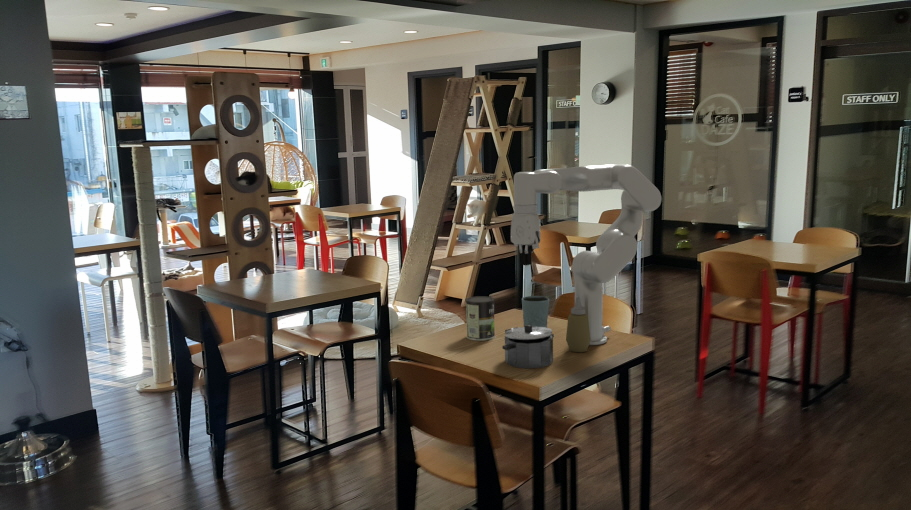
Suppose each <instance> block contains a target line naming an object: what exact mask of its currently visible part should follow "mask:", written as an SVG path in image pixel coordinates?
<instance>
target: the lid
mask: <svg viewBox="0 0 911 510" xmlns="http://www.w3.org/2000/svg"><path fill="white" fill-rule="evenodd" d="M552 334H553V329H552V328H549V327H547V328H545V327H532V325H525V326H524V325H523V327H518V326H515V327H512V328H507V329H504V337H505V336H506V337H507V338H510V339H516V340H532V339H540V338H545V337H548V336H550V335H552Z"/></svg>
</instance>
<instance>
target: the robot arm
mask: <svg viewBox="0 0 911 510" xmlns="http://www.w3.org/2000/svg"><path fill="white" fill-rule="evenodd" d="M608 190H622V192H621V197H620V203H621V209H620V214H619V216H618V217H617V218H616V219H615V221H613V223H611V224H610V225H609V227H607V228H606V229H605V231H603V232H602V234H600V236H599V237H598V238H597V239H596V243H595V247H596V250H597V252H596V251H591V250H583V251H580V252H579V253H577V254H575V256H574V258H573V260H572V265H571V268H572V275H573V282H574V303H575V302H576V298H577V297H579V298H580V300H581V305H582V307H583V308H585V314H586V315H587V316H588V320H589V330H590V343H589V346H598V345H604V344H605V343H607V342H608V337H607V335H605V334H606V332H607V333H608V332H610V331H611V326H610V325H607V326H606V325H605V326H604V325H603V315H604V314H603V313H604V312H603V311H604V310H603V307H604V305H603V304H604V302H603V300H604V298H603V297H604V295H603V294H604V290H603V284H606V283H608V282H610V281H612V280H614V278H615V277H616V276H617V275H618V274H619V273H620V272H621V271H622V270H624V268H625V267H626V266H627V265H628V264H629V263H631V261H632V260H633V259H634V257H635V256H636V254H637V251H638V242H637V239H636V238H635V236H636V235H637V234H638V233H639V231H640V230H641V228H642V226H643V217H644V216H643V215H644V214H643V212H653V211H655V210H657V209H658V208H659V207H660V206H661V203H662V195H661V192H660V190H659V189H658V187H656V186H655V184H653V183H652V182H651V181H650V179H648V178H647V177H646V176H645V175H644V174H643V173H642V172H641V171H640V170H639V169H638V168H636V167H635V166H633V165H632V164H631V165H630V164H619V163H616V164H615V163H614V164H600V165H599V164H597V165H582V166H574V167H562V168H546V169H544V168H543V169H536V170H533V171H519V172H515V174H514V175H513V199H514V200H513V202H514V206H513V210H514V211H513V214H512V216H511V223H510V242H511V243H513V245H514V247H517V248H518V250H519V253H520V254H521V255H520V258H521V259H520V261H521V263H520V264H521V266H525V267H526V266H529V265H532V264H533V263H532V262H533V261H532V256H533V255H532V253H534V251H535V249H540V243H541V223H540V216H539V214H538V194H547V195H548V194H555V193H557V192H559V191H571V192H584V193H585V192H596V191H608ZM598 252H599V253H598Z"/></svg>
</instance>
